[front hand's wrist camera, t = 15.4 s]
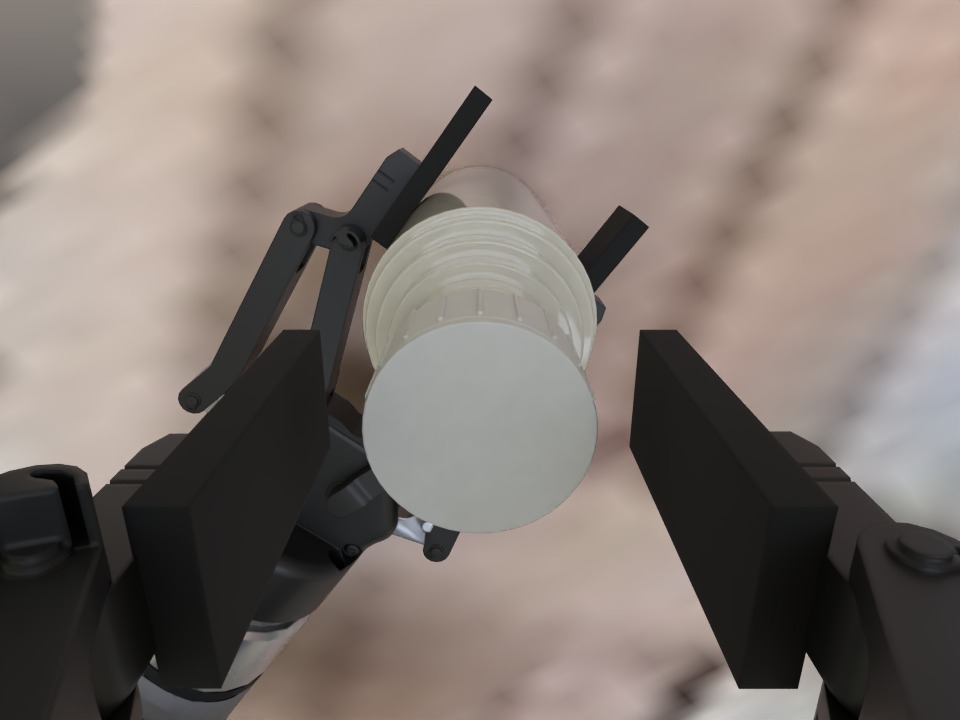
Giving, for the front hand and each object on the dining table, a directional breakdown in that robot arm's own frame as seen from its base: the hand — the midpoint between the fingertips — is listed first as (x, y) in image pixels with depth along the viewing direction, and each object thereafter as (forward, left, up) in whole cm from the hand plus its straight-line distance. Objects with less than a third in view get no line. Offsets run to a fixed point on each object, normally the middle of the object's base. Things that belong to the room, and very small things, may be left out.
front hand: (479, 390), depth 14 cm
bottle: (0, 0, -19) cm, 19 cm away
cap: (0, 0, +2) cm, 2 cm away
